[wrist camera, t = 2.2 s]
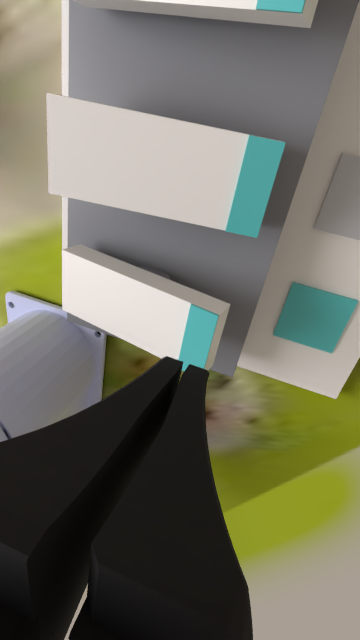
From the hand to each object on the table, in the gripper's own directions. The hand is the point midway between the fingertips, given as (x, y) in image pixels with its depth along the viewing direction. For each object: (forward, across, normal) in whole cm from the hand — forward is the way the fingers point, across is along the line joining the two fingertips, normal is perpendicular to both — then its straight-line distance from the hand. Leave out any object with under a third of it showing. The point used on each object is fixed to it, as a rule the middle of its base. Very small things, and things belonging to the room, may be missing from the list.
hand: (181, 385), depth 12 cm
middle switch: (+6, +3, -6) cm, 9 cm away
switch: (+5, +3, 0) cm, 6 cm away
